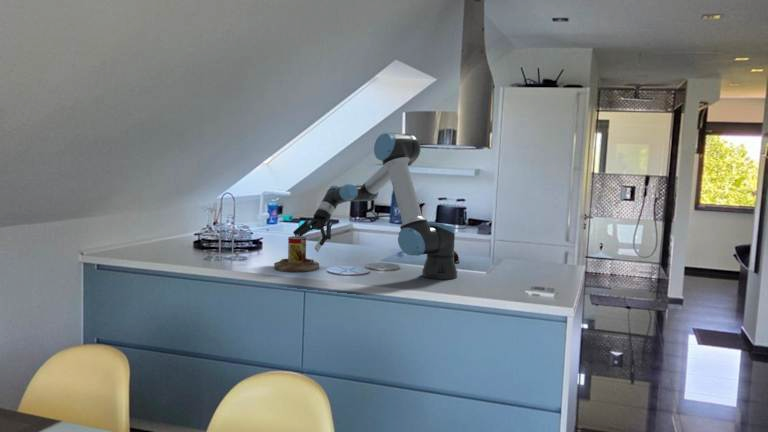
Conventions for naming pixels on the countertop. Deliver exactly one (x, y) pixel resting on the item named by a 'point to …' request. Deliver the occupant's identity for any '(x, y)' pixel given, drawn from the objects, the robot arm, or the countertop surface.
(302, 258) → the canned food
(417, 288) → the countertop surface
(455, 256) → the pottery mug
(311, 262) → the hub trivet
